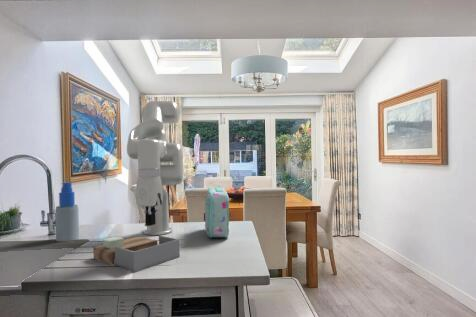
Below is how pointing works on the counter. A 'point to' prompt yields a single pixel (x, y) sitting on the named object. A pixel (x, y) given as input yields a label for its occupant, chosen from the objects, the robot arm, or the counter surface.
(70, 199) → the spray bottle
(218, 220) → the lunch box
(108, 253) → the tan wooden board
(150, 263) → the box
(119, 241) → the sage tile
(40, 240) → the counter surface
